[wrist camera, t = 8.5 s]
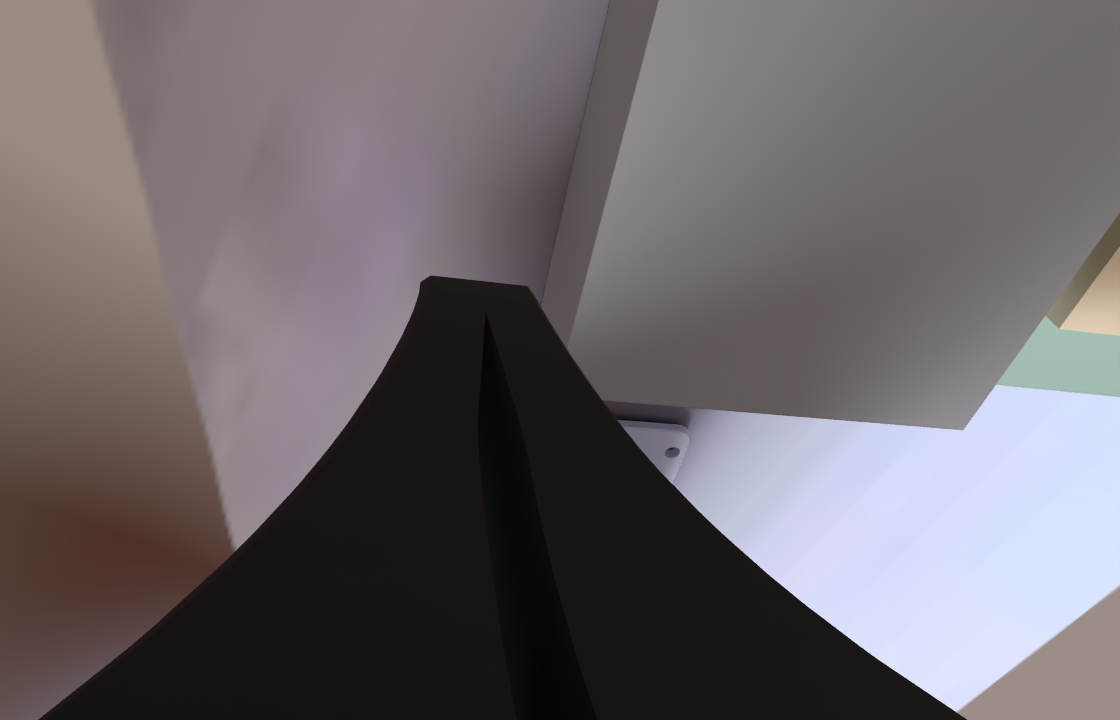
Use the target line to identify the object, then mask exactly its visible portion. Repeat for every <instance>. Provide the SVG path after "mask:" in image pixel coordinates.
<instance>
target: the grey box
mask: <svg viewBox="0 0 1120 720" xmlns="http://www.w3.org/2000/svg"><path fill="white" fill-rule="evenodd" d="M1119 213H1120V0H610V3H609V7H608V12H607V16H606V20H605V25H604V29H603V34H602V38H601V42H600V47H599V51H598V56H597V60H596V65H595V69H594V73H593V78H592V82H591V87H590V91H589V95H588V100H587V104H586V109H585V113H584V118H583V122H582V126H581V131H580V135H579V140H578V144H577V148H576V153H575V157H574V162H573V166H572V171H571V175H570V179H569V184H568V188H567V193H566V197H565V201H564V206H563V210H562V215H561V219H560V224H559V228H558V232H557V237H556V241H555V246H554V250H553V254H552V259H551V263H550V268H549V272H548V277H547V281H546V285H545V290H544V294H543V299H542V303H541V308H542V309H543V311H544V313H545V314H546V316H547V318H548V319H549V321H550V323H551V324H552V326H553V328H554V329H555V331H556V332H557V334H558V336H559V337H560V339H561V340H562V342H563V344H564V345H565V347H566V348H567V350H568V351H569V353H570V354H571V356H572V357H573V359H574V360H575V362H576V363H577V365H578V366H579V368H580V369H581V371H582V372H583V374H584V375H585V376H586V378H587V379H588V381H589V382H590V383H591V385H592V386H593V388H594V389H595V391H596V392H597V393H598V395H599V396H600V398H601V399H602V400H603V401H615V402H627V403H639V404H652V405H664V406H676V407H688V408H700V409H712V410H725V411H737V412H749V413H761V414H773V415H785V416H798V417H810V418H822V419H834V420H846V421H858V422H870V423H883V424H895V425H907V426H919V427H931V428H943V429H956V430H964V428H965V427H966V425H967V424H968V423H969V421H970V420H971V418H972V417H973V416H974V414H975V413H976V412H977V410H978V409H979V407H980V406H981V405H982V403H983V402H984V400H985V399H986V398H987V396H988V395H989V393H990V392H991V391H992V389H993V388H994V387H995V385H996V384H997V382H998V381H999V380H1000V378H1001V377H1002V375H1003V374H1004V373H1005V371H1006V370H1007V368H1008V367H1009V366H1010V364H1011V363H1012V362H1013V360H1014V359H1015V357H1016V356H1017V355H1018V353H1019V352H1020V350H1021V349H1022V348H1023V346H1024V345H1025V343H1026V342H1027V341H1028V339H1029V338H1030V337H1031V335H1032V334H1033V332H1034V331H1035V330H1036V328H1037V327H1038V325H1039V324H1040V323H1041V321H1042V320H1043V318H1044V317H1045V316H1046V314H1047V313H1048V312H1049V310H1050V309H1051V307H1052V306H1053V305H1054V303H1055V302H1056V300H1057V299H1058V298H1059V296H1060V295H1061V293H1062V292H1063V291H1064V289H1065V288H1066V287H1067V285H1068V284H1069V282H1070V281H1071V280H1072V278H1073V277H1074V275H1075V274H1076V273H1077V271H1078V270H1079V268H1080V267H1081V266H1082V264H1083V263H1084V262H1085V260H1086V259H1087V257H1088V256H1089V255H1090V253H1091V252H1092V250H1093V249H1094V248H1095V246H1096V245H1097V243H1098V242H1099V241H1100V239H1101V238H1102V237H1103V235H1104V234H1105V232H1106V231H1107V230H1108V228H1109V227H1110V225H1111V224H1112V223H1113V221H1114V220H1115V218H1116V217H1117V216H1118V214H1119Z"/></svg>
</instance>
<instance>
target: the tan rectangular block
mask: <svg viewBox="0 0 1120 720" xmlns="http://www.w3.org/2000/svg"><path fill="white" fill-rule="evenodd" d="M1046 317H1047V318H1048V319H1049V320H1050V321H1051V322H1052V323H1053V324H1054V325H1055V326H1056V327H1057V328H1058V329H1064V330H1073V331H1082V332H1091V333H1100V334H1108V335H1117V336H1120V213H1119V214H1118V216H1117V217H1116V218H1115V220H1114V221H1113V223H1112V224H1111V225H1110V227H1109V228H1108V230H1107V231H1106V232H1105V234H1104V235H1103V237H1102V238H1101V239H1100V241H1099V242H1098V243H1097V245H1096V246H1095V248H1094V249H1093V250H1092V252H1091V253H1090V255H1089V256H1088V257H1087V259H1086V260H1085V262H1084V263H1083V264H1082V266H1081V267H1080V268H1079V270H1078V271H1077V273H1076V274H1075V275H1074V277H1073V278H1072V280H1071V281H1070V282H1069V284H1068V285H1067V287H1066V288H1065V289H1064V291H1063V292H1062V293H1061V295H1060V296H1059V298H1058V299H1057V300H1056V302H1055V303H1054V305H1053V306H1052V307H1051V309H1050V310H1049V312H1048V313H1047V314H1046Z"/></svg>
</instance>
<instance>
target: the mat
mask: <svg viewBox="0 0 1120 720" xmlns="http://www.w3.org/2000/svg"><path fill="white" fill-rule="evenodd" d="M996 385H1004V386H1014V387H1024V388H1034V389H1045V390H1055V391H1065V392H1075V393H1086V394H1096V395H1106V396H1116V397H1120V336H1117V335H1108V334H1100V333H1091V332H1082V331H1073V330H1064V329H1058V328H1057V327H1056V326H1055V325H1054V324H1053V323H1052V322H1051V321H1050V320H1049V319H1048V318H1047V317H1046V316H1045V317H1044V318H1043V320H1042V321H1041V323H1040V324H1039V325H1038V327H1037V328H1036V330H1035V331H1034V332H1033V334H1032V335H1031V337H1030V338H1029V339H1028V341H1027V342H1026V343H1025V345H1024V346H1023V348H1022V349H1021V350H1020V352H1019V353H1018V355H1017V356H1016V357H1015V359H1014V360H1013V362H1012V363H1011V364H1010V366H1009V367H1008V368H1007V370H1006V371H1005V373H1004V374H1003V375H1002V377H1001V378H1000V380H999V381H998V382H997V384H996Z"/></svg>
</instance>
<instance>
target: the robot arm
mask: <svg viewBox="0 0 1120 720" xmlns="http://www.w3.org/2000/svg"><path fill="white" fill-rule="evenodd" d="M690 440H691V438H690V435H689V432H688V430H687V428H686V427H684V426H682V425H677V424H664V423H651V422H638V421H625V420H617V419H616V418H615V416H614V415H613V414H612V412H611V411H610V410H609V408H608V407H607V406H606V405H605V403H604V402H603V400H602V399H601V398H600V396H599V395H598V393H597V392H596V391H595V389H594V388H593V386H592V385H591V383H590V382H589V381H588V379H587V378H586V376H585V375H584V374H583V372H582V371H581V369H580V368H579V366H578V365H577V363H576V362H575V360H574V359H573V357H572V356H571V354H570V353H569V351H568V350H567V348H566V347H565V345H564V344H563V342H562V340H561V339H560V337H559V336H558V334H557V332H556V331H555V329H554V328H553V326H552V324H551V323H550V321H549V319H548V318H547V316H546V314H545V313H544V311H543V309H542V308H541V306H540V304H539V303H538V301H537V299H536V298H535V296H534V294H533V293H532V292H531V290H530V289H529V288H528V286H521V285H512V284H503V283H493V282H484V281H475V280H466V279H457V278H448V277H439V276H429V277H428V278H426V279H425V280H423V281H422V282H420V291H419V295H418V298H417V302H416V305H415V308H414V310H413V313H412V315H411V318H410V320H409V322H408V324H407V326H406V328H405V330H404V333H403V335H402V337H401V339H400V341H399V342H398V344H397V346H396V348H395V350H394V351H393V353H392V355H391V357H390V358H389V360H388V362H387V364H386V366H385V367H384V369H383V371H382V373H381V374H380V376H379V378H378V379H377V381H376V382H375V384H374V385H373V387H372V388H371V390H370V391H369V393H368V394H367V396H366V397H365V399H364V400H363V402H362V403H361V405H360V406H359V407H358V409H357V410H356V412H355V413H354V415H353V416H352V418H351V419H350V421H349V422H348V424H347V425H346V426H345V428H344V429H343V430H342V432H341V433H340V434H339V436H338V437H337V438H336V440H335V441H334V442H333V444H332V445H331V446H330V447H329V449H328V450H327V451H326V452H325V454H324V455H323V456H322V457H321V459H320V460H319V461H318V462H317V463H316V465H315V466H314V467H313V468H312V469H311V471H310V472H309V473H308V474H307V475H306V477H305V478H304V479H303V480H302V481H301V482H300V484H299V485H298V486H297V487H296V488H295V489H294V490H293V491H292V493H291V494H290V495H289V496H288V497H287V498H286V499H285V500H284V501H283V502H282V503H281V504H280V505H279V507H278V508H277V509H276V510H275V511H274V512H273V513H272V514H271V515H270V516H269V517H268V518H267V520H266V521H265V522H264V523H263V524H262V525H261V526H260V527H259V528H258V529H257V530H256V531H255V532H254V533H253V534H252V535H251V536H250V537H249V538H248V539H247V540H246V541H245V542H244V543H243V544H242V545H241V546H240V547H239V548H238V549H237V550H236V551H235V552H234V553H233V554H232V555H231V556H230V557H229V558H228V559H227V560H226V561H225V562H224V563H223V564H222V565H221V566H220V567H218V568H217V569H216V570H215V571H214V572H213V573H212V574H211V575H210V576H209V577H207V578H206V579H205V580H204V581H203V582H202V583H201V584H200V585H199V586H198V587H197V588H196V589H194V590H193V591H192V592H191V593H190V594H189V595H188V596H187V597H185V598H184V599H183V600H182V601H181V602H180V603H179V604H178V605H177V606H176V607H175V608H173V609H172V610H171V611H170V612H169V613H168V614H167V615H166V616H165V617H163V618H162V619H161V620H160V621H159V622H158V623H157V624H156V625H155V626H154V627H152V628H151V629H150V630H149V631H148V632H147V633H145V634H144V635H143V636H142V637H141V638H139V639H138V640H137V641H136V642H135V643H134V644H132V646H130V647H129V648H128V649H127V650H125V651H124V652H123V653H122V654H120V655H119V656H118V657H117V658H115V659H114V660H113V661H112V662H110V663H109V664H108V665H106V666H105V667H104V668H103V669H101V670H100V671H99V672H98V673H96V674H95V675H94V676H93V677H91V678H90V679H89V680H88V681H86V682H85V683H84V684H83V685H81V686H80V687H79V688H78V689H76V690H75V691H74V692H72V693H71V694H70V695H69V696H67V697H66V698H65V699H64V700H62V701H61V702H60V703H59V704H57V705H56V706H55V707H54V708H52V709H51V710H50V711H49V712H47V713H46V714H45V715H43V716H42V717H41V718H40V719H38V720H967V719H965V718H964V717H962V716H961V715H959V714H958V713H956V712H955V711H954V710H952V709H951V708H949V707H948V706H946V705H945V704H943V703H942V702H940V701H939V700H937V699H936V698H934V697H933V696H931V695H930V694H928V693H927V692H925V691H924V690H922V689H921V688H919V687H918V686H916V685H915V684H914V683H912V682H911V681H909V680H908V679H906V678H905V677H903V676H902V675H900V674H899V673H897V672H896V671H894V670H893V669H891V668H890V667H888V666H887V665H885V664H884V663H882V662H881V661H879V660H878V659H876V658H875V657H874V656H872V655H871V654H870V653H868V652H867V651H865V650H864V649H863V648H861V647H860V646H859V645H857V644H856V643H855V642H853V641H852V640H851V639H849V638H848V637H847V636H845V635H844V634H843V633H842V632H840V631H839V630H838V629H836V628H835V627H834V626H832V625H831V624H830V623H828V622H827V621H826V620H824V619H823V618H822V617H821V616H819V615H818V614H817V613H815V612H814V611H813V610H811V609H810V608H809V607H807V606H806V605H805V604H804V603H802V602H801V601H800V600H799V599H797V598H796V597H795V596H794V595H793V594H791V593H790V592H789V591H788V590H786V589H785V588H784V587H783V586H782V585H780V584H779V583H778V582H777V581H775V580H774V579H773V578H772V577H771V576H769V575H768V574H767V573H766V572H765V571H764V570H762V569H761V568H760V567H759V566H758V565H757V564H756V563H755V562H753V561H752V560H751V559H750V558H749V557H748V556H747V555H746V554H744V553H743V552H742V551H741V550H740V549H739V548H738V547H737V546H735V545H734V544H733V543H732V542H731V541H730V540H729V539H728V538H726V537H725V536H724V535H723V534H722V533H721V532H720V531H719V530H718V529H717V528H716V527H715V526H714V525H712V524H711V523H710V522H709V521H708V520H707V519H706V518H705V517H704V516H703V515H702V514H701V513H700V512H699V511H698V510H697V509H696V508H695V507H694V506H693V505H692V504H691V503H690V502H689V501H688V500H687V499H686V498H685V497H684V496H683V495H682V494H681V493H680V492H679V490H678V489H677V488H676V487H675V486H674V485H673V481H674V479H675V477H676V474H677V472H678V469H679V467H680V465H681V462H682V460H683V458H684V455H685V453H686V451H687V448H688V446H689V444H690ZM672 447H675V448H673V449H672V450H667V449H669V448H672Z"/></svg>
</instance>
